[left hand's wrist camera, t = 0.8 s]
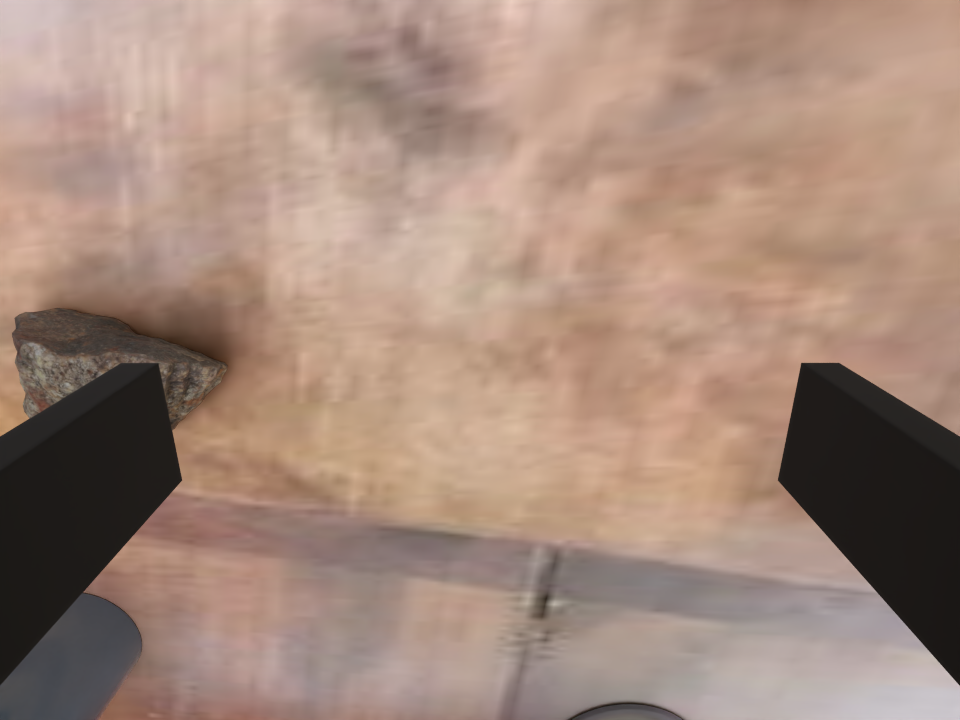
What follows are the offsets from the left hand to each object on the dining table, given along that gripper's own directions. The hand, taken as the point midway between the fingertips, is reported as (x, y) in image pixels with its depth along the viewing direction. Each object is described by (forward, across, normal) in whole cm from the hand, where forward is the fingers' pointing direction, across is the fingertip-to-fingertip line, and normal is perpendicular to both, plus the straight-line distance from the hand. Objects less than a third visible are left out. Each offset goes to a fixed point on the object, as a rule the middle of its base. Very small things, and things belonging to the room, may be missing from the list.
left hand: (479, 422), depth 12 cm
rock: (+28, +25, +9) cm, 38 cm away
